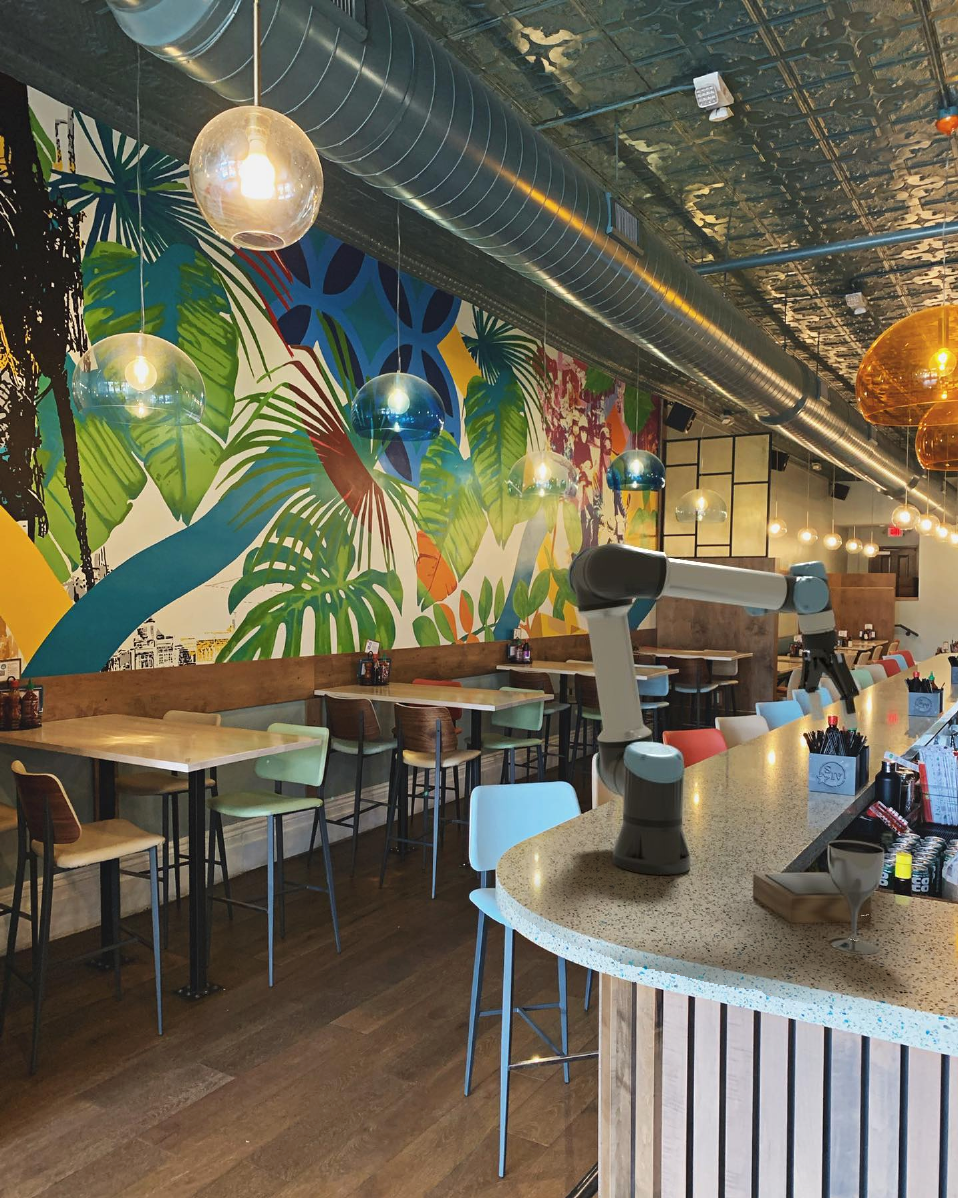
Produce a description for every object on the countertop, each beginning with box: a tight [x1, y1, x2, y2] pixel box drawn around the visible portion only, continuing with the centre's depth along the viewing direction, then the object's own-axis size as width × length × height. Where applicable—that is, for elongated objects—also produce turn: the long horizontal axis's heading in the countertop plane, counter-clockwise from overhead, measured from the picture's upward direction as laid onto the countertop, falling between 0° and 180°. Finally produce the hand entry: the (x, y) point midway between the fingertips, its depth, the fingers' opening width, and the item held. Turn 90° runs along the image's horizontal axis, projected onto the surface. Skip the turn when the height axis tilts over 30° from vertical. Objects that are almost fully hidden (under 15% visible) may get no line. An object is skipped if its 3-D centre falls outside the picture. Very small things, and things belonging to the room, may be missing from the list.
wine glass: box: [827, 839, 885, 955], centre depth 136 cm, size 8×8×15 cm
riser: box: [752, 871, 872, 924], centre depth 153 cm, size 14×14×4 cm
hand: (834, 724), depth 199 cm, fingers open, 13 cm apart
